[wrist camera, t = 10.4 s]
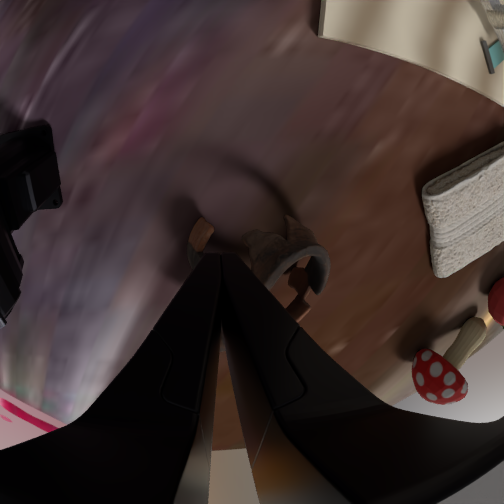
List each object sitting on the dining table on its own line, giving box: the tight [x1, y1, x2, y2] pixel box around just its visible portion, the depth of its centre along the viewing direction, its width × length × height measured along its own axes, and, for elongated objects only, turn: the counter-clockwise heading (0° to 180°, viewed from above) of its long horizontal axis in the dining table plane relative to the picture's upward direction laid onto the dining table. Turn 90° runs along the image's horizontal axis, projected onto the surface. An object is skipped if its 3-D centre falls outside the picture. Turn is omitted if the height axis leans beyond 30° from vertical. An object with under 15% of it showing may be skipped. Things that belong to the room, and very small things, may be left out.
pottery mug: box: [187, 215, 330, 352], centre depth 23 cm, size 12×10×8 cm
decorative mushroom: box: [412, 317, 487, 405], centre depth 35 cm, size 11×11×15 cm
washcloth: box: [422, 141, 504, 278], centre depth 23 cm, size 12×18×3 cm, turn 119°
